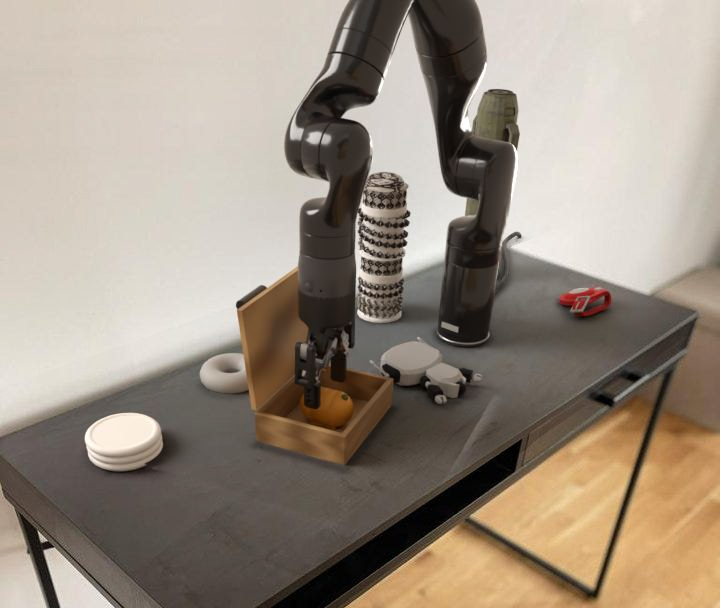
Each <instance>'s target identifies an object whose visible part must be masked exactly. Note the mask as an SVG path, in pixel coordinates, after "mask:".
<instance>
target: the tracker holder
mask: <svg viewBox="0 0 720 608" xmlns="http://www.w3.org/2000/svg"><path fill="white" fill-rule="evenodd" d="M611 296H612V294H611V293H610V291H608V290H606V289H604V288H603V287H599V286H593V287H588V286H587V287H585V286H583V287H577V288H573V289H571V290H569V291H566V292H565V293H563V294H561V295H560V296H559V298H558V301H559V304H560V305H562V306H572V307H571V308H570V310H569V313H570V314H573V315H574V316H575V317H589V316H591V315H594V314H597V313H599V312H601V311H604V310H606V309H608V308H609V307H610V306H611V303H612V297H611ZM603 297H604V298H603ZM601 298H603V302H602V303H601V304H599V305H597V306H594V307H592V308H590V309H587V310H585V309H586V308H587V305H590V304H592V303H594V302H596V301H597V300H599V299H601Z"/></svg>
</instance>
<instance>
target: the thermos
mask: <svg viewBox="0 0 720 608" xmlns="http://www.w3.org/2000/svg"><path fill="white" fill-rule="evenodd" d="M519 112H520V111H519V102H518V97H517V94H516V93H514V91H512V90H510V89H503V88H490V89H488V90H487V91H484V92H483V94H482V96H481V97H480V100H479V104H478V106H477V110H476V115H475V117H474V119H473V120H472V126H471V127H472V128H471V130H472V132H473V133H474V134H475V135H476V136H480V137H485V138H491V139H495V140H501V141H505V142H509V143H511V144H512V145H513V146H514V147H515V149H516V152H517V153H518V146H519V143H520V142H519V141H520V135H521V133H520V128H519V124H518V117H519ZM478 206H479V201H477V200H472V199H468V198H466V203H465V211H464V216H468V215H475V214H476V213H477V210H478ZM502 246H503V244H501V251H500V258H499V266H498V268H499V267H500V265H501V260H502ZM498 274H499V272H498V273H497V276H498Z"/></svg>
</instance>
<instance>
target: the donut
mask: <svg viewBox="0 0 720 608" xmlns="http://www.w3.org/2000/svg"><path fill="white" fill-rule="evenodd" d="M199 378H200V382H201V383H202V385H203V386H204V387H205V388H206V389H207V390H209V391H211V392H214V393H220V394H228V395H229V394H230V395H231V394H232V395H233V394H240V393H241V394H242V393H244V392H249V388H248V381H247V375H246V368H245V361H244V355H243V353H239V352H238V353H237V352H230V353H221V354H217V355H214V356H212V357H210V358H208V359H207V360H206V361H205V362H204V363H202V365H201V368H200V370H199Z"/></svg>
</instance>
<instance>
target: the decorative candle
mask: <svg viewBox="0 0 720 608" xmlns="http://www.w3.org/2000/svg"><path fill="white" fill-rule="evenodd" d="M409 186H410V185H409V184H408V183H407V182H405V180H404V178H403V177H402V176H401V175H400V174H397V173H394V172H389V171H378V172H374V173H371V174H369V176H368V179H367V182H366V185H365V189H364V192H363V195H362V198H363V199H362V200H361V207H359V210H358V221H357V225H358V230H357V233H358V242H357V245H358V246H359V248H358V254H359V256H360V257H361V258H360V267H359V276H358V277H357V281H358V285H357V289H358V293H357V295H356V298H357V303H356V307H357V312H356V314H357V316H358V317H359V318H360V319H361V320H364V321H366V322H370V323H374V324H375V323H376V324H385V323H392V322H396V321H398V320H400V318H402V313H403V312H402V310H403V309H402V308H403V306H404V305H403V304H402V303H403V300H404V297H403V292H404V287H403V285H404V283H405V279H404V277H403V274H404V273H403V272H404V269H403V262H404V261H403V259H404V257H406V253H407V252H406V249H405V247H406V246H408V241H407V240H406V238H408V237H409V232H408V231H407V230H406V229H405V228H407V227H409V226H410V224H411V223H410V220H408V218H410V217H411V214H412V213H411V211H410V210H409V209H408V203H407V198H408V197H407V196H408V189H409Z"/></svg>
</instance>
